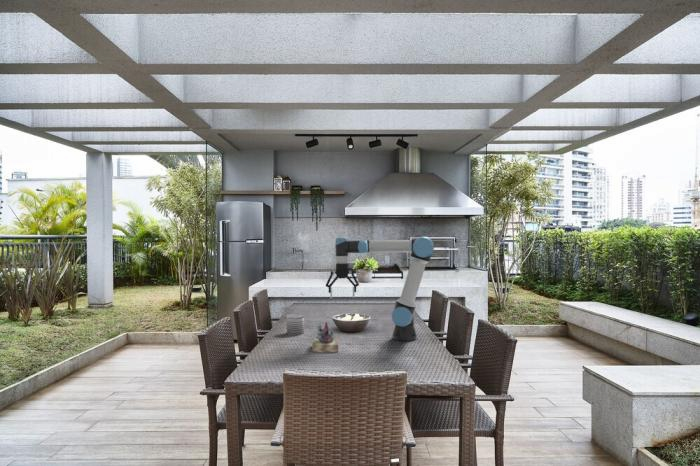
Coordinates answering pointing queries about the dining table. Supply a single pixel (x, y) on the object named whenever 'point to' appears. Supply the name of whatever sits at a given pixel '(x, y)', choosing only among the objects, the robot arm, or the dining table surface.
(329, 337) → the spiky succulent plant
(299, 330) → the can
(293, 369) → the dining table surface
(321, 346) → the oak riser
